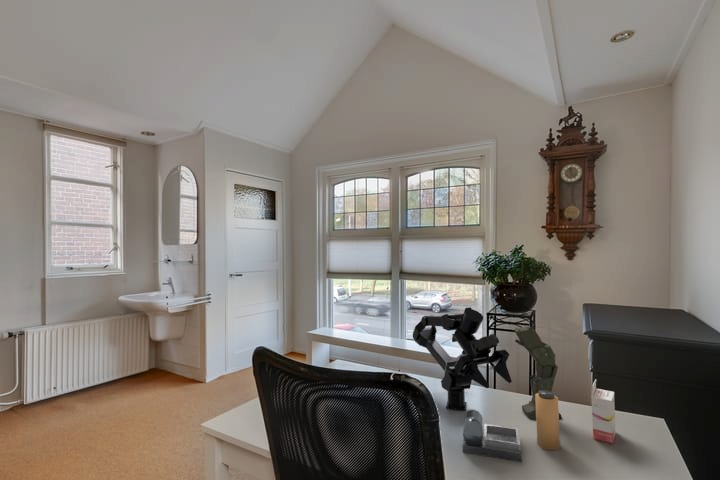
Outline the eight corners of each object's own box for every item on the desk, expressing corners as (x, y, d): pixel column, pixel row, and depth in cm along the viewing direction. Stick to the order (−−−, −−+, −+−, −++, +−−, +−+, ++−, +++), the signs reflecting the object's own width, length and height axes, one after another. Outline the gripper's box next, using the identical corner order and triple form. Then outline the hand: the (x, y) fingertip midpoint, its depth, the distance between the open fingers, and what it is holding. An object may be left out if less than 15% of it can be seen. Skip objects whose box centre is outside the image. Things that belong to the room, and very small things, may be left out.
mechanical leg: (565, 407, 118) (538, 320, 120) (575, 417, 111) (547, 324, 113) (523, 416, 119) (498, 329, 121) (531, 427, 112) (504, 334, 114)
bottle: (536, 437, 101) (533, 388, 102) (558, 440, 99) (555, 390, 100) (538, 448, 96) (536, 395, 96) (562, 451, 94) (559, 398, 95)
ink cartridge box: (614, 444, 97) (611, 390, 97) (592, 439, 100) (590, 386, 100) (616, 432, 103) (614, 381, 104) (596, 427, 106) (593, 377, 107)
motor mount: (465, 431, 106) (464, 407, 106) (517, 438, 101) (516, 414, 101) (462, 452, 95) (461, 426, 95) (521, 461, 90) (520, 434, 90)
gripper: (456, 329, 108) (488, 371, 97) (500, 323, 116) (534, 362, 105) (442, 353, 114) (471, 396, 102) (486, 346, 122) (516, 386, 110)
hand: (499, 384), depth 105 cm, fingers open, 9 cm apart
